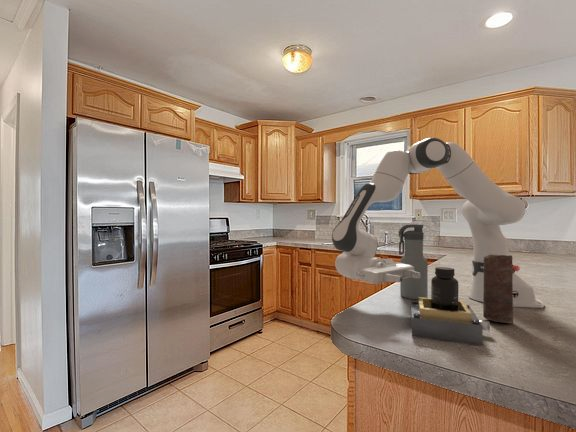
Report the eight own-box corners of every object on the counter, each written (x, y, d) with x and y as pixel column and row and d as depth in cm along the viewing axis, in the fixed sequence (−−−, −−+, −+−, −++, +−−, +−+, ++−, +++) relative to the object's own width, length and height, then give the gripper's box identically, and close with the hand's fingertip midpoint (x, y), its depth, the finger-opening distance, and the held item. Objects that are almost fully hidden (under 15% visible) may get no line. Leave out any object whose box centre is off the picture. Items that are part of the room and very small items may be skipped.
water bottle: (396, 297, 119) (396, 224, 119) (402, 292, 127) (402, 223, 127) (424, 301, 113) (425, 225, 113) (429, 295, 121) (429, 224, 121)
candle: (503, 327, 87) (503, 257, 87) (477, 319, 94) (477, 254, 94) (518, 323, 91) (518, 255, 91) (492, 316, 97) (492, 252, 97)
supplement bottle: (461, 315, 83) (461, 270, 82) (434, 313, 84) (434, 269, 84) (454, 308, 89) (454, 266, 89) (428, 306, 91) (428, 265, 91)
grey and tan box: (481, 325, 89) (482, 301, 89) (496, 347, 74) (497, 318, 74) (411, 317, 96) (411, 294, 96) (411, 336, 81) (411, 309, 81)
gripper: (352, 264, 99) (388, 270, 88) (392, 258, 111) (428, 263, 100) (352, 283, 99) (388, 292, 88) (392, 276, 111) (428, 283, 100)
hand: (410, 277), depth 94 cm, fingers open, 8 cm apart
